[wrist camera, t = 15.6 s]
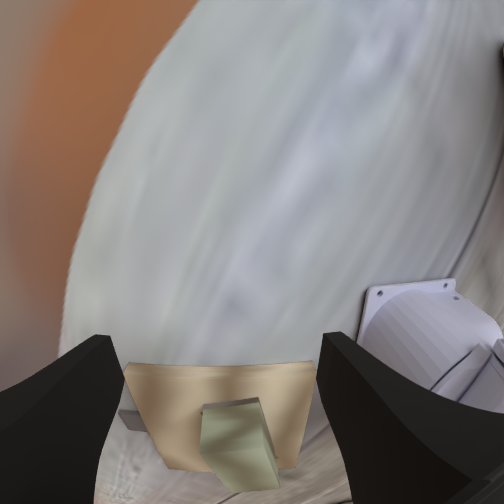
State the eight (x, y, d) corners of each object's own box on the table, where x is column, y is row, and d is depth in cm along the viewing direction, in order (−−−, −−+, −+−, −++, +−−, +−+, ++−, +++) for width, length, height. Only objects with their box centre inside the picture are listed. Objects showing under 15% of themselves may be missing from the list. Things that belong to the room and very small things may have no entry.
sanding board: (312, 360, 20) (316, 372, 19) (293, 458, 25) (295, 467, 24) (128, 362, 19) (123, 374, 18) (170, 459, 25) (168, 468, 23)
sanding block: (258, 396, 19) (264, 447, 14) (274, 448, 22) (280, 487, 17) (203, 404, 19) (199, 453, 15) (230, 453, 22) (231, 492, 17)
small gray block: (146, 408, 22) (144, 415, 21) (155, 425, 23) (153, 432, 22) (120, 406, 22) (118, 413, 21) (130, 423, 23) (128, 429, 22)
